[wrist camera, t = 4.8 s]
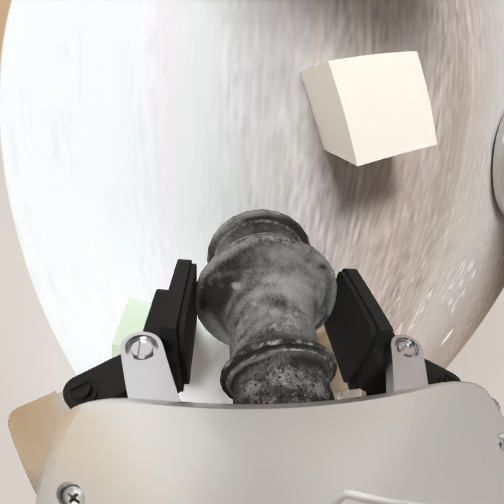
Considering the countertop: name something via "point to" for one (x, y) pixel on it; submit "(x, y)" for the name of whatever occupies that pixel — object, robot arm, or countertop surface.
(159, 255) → the countertop surface
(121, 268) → the countertop surface
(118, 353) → the sage painted cube
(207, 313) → the salt shaker
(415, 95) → the cream painted cube
